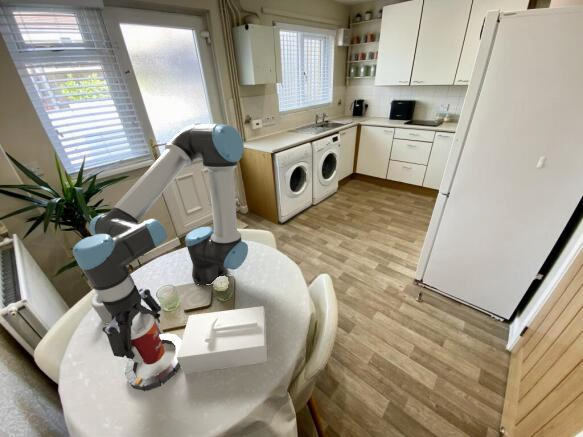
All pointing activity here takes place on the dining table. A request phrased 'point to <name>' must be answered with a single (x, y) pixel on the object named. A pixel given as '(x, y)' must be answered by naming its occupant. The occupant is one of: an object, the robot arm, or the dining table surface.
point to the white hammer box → (223, 340)
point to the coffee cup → (146, 338)
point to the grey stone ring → (158, 379)
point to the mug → (101, 309)
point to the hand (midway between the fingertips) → (149, 346)
